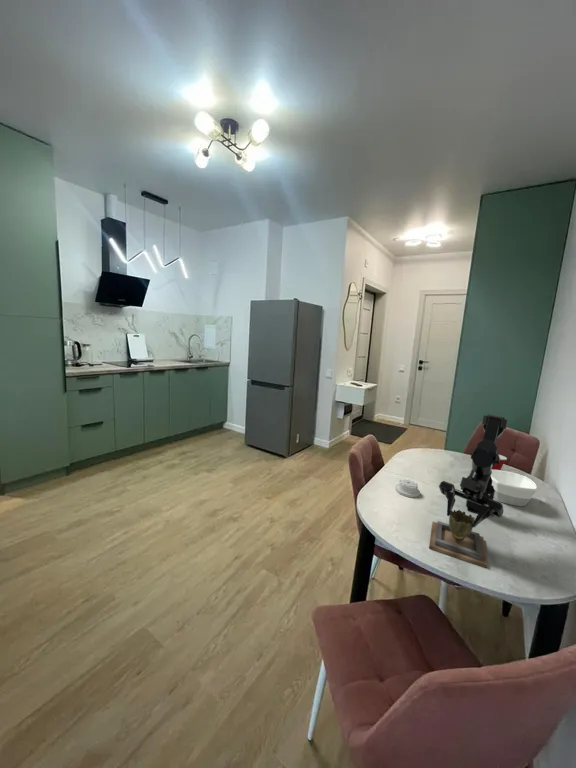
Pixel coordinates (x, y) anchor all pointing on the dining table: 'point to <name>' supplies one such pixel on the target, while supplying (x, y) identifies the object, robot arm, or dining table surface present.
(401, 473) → the dining table surface
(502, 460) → the plastic cup
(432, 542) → the holder board
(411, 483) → the mechanical component
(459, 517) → the cup
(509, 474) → the bowl
